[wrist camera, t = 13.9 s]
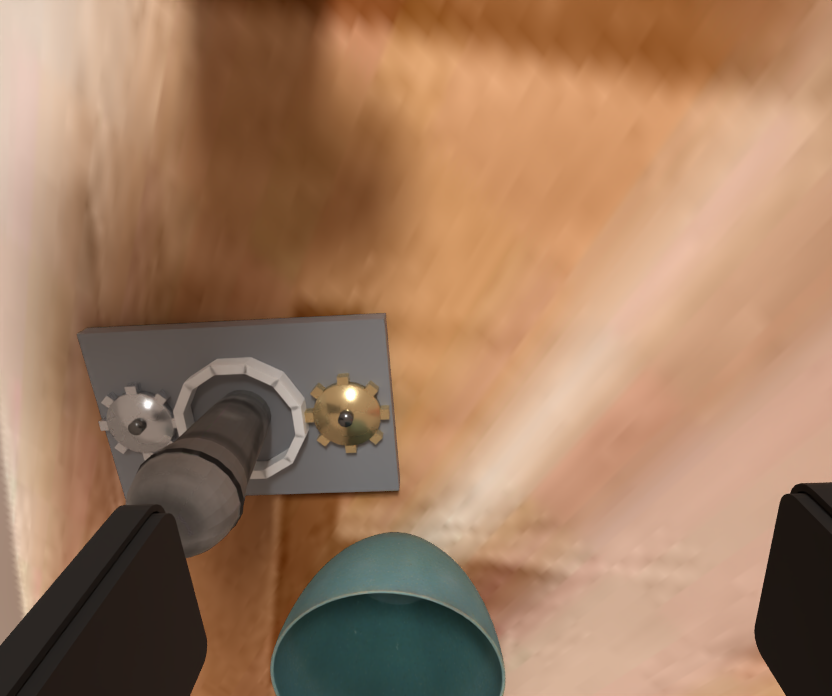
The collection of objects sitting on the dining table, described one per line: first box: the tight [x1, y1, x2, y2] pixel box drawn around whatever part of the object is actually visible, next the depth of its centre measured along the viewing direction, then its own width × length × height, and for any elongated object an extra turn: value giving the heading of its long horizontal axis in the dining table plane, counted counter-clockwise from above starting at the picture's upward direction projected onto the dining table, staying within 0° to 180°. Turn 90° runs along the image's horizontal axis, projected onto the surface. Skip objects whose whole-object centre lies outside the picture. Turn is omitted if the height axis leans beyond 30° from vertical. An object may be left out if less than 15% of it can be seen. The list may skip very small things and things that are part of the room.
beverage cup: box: [126, 390, 271, 558], centre depth 38 cm, size 7×7×20 cm
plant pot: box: [270, 532, 505, 696], centre depth 49 cm, size 18×18×12 cm
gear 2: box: [304, 373, 390, 453], centre depth 46 cm, size 7×7×2 cm
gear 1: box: [98, 382, 178, 460], centre depth 47 cm, size 7×7×2 cm
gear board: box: [77, 313, 400, 499], centre depth 48 cm, size 16×25×3 cm, turn 94°
